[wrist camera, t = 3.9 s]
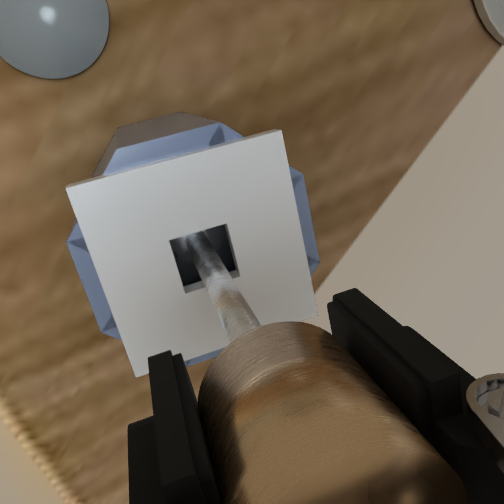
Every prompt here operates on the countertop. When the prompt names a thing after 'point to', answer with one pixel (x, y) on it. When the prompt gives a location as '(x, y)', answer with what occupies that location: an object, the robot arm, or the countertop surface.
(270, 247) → the press pot
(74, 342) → the countertop surface
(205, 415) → the plunger
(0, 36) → the grey round dome
